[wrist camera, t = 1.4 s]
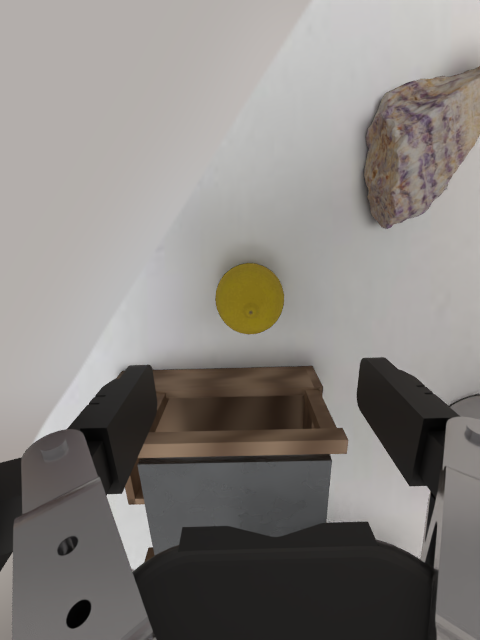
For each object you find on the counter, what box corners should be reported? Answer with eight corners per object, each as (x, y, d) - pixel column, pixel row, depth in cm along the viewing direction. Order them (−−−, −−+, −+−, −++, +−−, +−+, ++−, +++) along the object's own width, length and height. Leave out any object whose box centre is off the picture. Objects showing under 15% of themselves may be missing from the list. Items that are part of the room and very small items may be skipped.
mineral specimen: (414, 32, 21) (484, -46, 15) (489, 84, 22) (582, 31, 16) (323, 199, 24) (349, 190, 18) (390, 237, 25) (436, 241, 19)
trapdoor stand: (312, 366, 29) (348, 437, 19) (306, 470, 34) (333, 571, 24) (122, 370, 30) (62, 443, 20) (141, 473, 34) (100, 574, 24)
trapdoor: (324, 440, 22) (332, 458, 20) (317, 534, 25) (322, 557, 23) (145, 444, 22) (136, 462, 20) (161, 537, 25) (155, 559, 23)
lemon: (220, 256, 26) (211, 269, 18) (280, 259, 26) (296, 274, 18) (218, 314, 27) (209, 347, 20) (274, 316, 28) (287, 351, 20)
